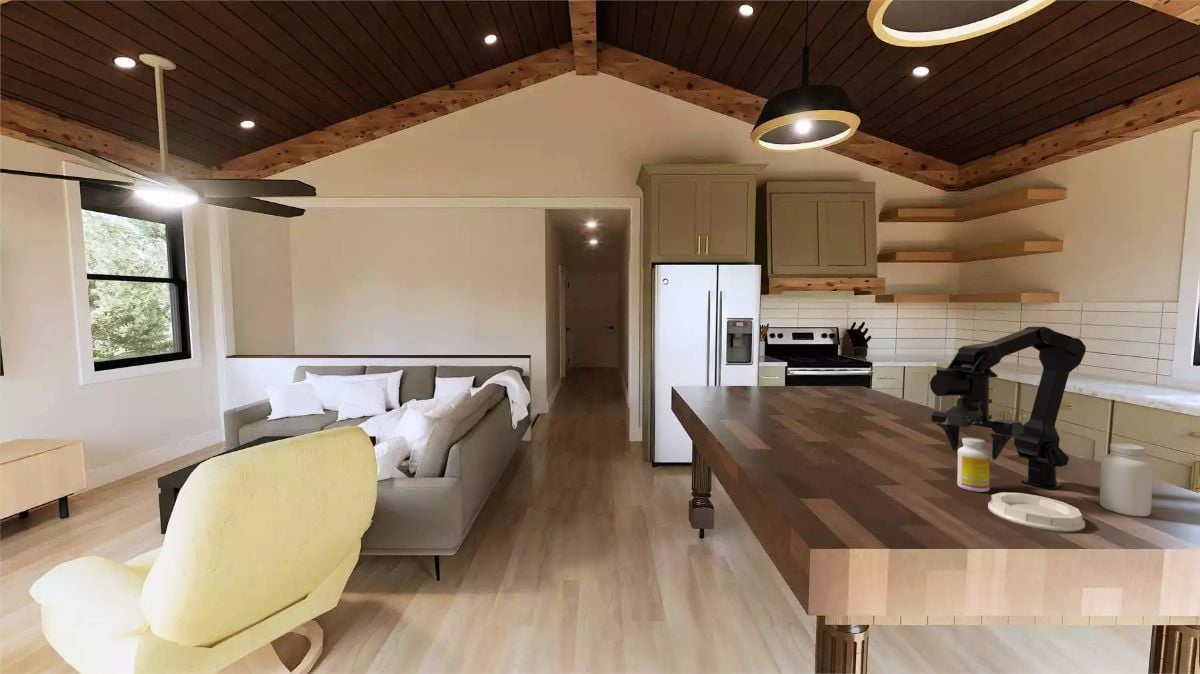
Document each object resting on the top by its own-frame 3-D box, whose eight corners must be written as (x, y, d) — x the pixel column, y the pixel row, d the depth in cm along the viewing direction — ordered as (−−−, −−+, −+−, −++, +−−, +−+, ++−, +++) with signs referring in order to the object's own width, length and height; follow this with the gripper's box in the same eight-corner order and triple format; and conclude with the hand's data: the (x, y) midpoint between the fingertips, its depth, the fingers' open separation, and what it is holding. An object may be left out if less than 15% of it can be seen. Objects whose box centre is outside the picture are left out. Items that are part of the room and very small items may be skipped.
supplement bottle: (995, 493, 120) (996, 443, 120) (965, 492, 122) (966, 442, 121) (980, 484, 127) (980, 436, 127) (951, 483, 128) (952, 435, 128)
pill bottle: (1144, 520, 104) (1146, 452, 103) (1093, 507, 111) (1095, 443, 111) (1157, 513, 108) (1159, 447, 107) (1107, 501, 115) (1108, 439, 114)
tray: (1011, 498, 118) (1012, 487, 117) (1100, 523, 103) (1100, 511, 103) (972, 509, 111) (972, 498, 111) (1061, 537, 96) (1061, 524, 96)
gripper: (918, 392, 129) (917, 449, 129) (998, 403, 112) (997, 469, 112) (943, 389, 133) (943, 444, 134) (1025, 399, 116) (1024, 462, 117)
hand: (974, 454), depth 124 cm, fingers open, 9 cm apart
